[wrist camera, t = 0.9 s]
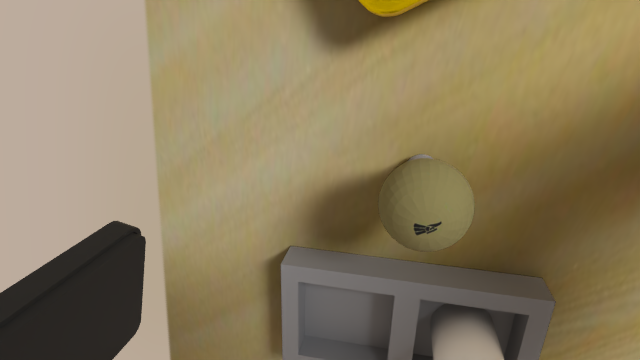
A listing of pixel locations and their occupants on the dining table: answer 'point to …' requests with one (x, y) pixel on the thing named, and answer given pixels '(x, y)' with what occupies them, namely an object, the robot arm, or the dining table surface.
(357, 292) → the socket board
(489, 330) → the white cylinder
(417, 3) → the element tile
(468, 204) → the light bulb
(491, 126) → the dining table surface
